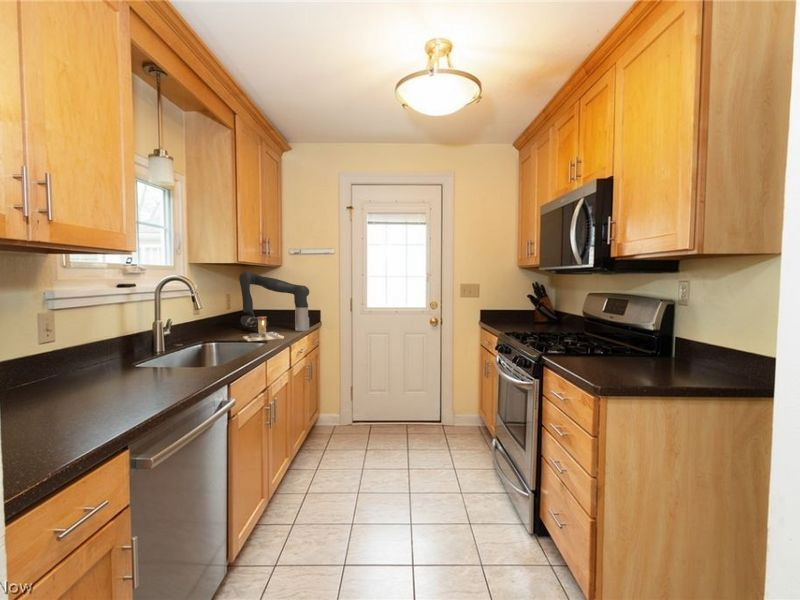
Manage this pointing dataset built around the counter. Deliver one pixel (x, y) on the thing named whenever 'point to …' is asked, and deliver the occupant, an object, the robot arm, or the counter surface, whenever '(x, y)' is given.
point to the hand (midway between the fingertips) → (260, 324)
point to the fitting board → (263, 336)
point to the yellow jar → (261, 325)
